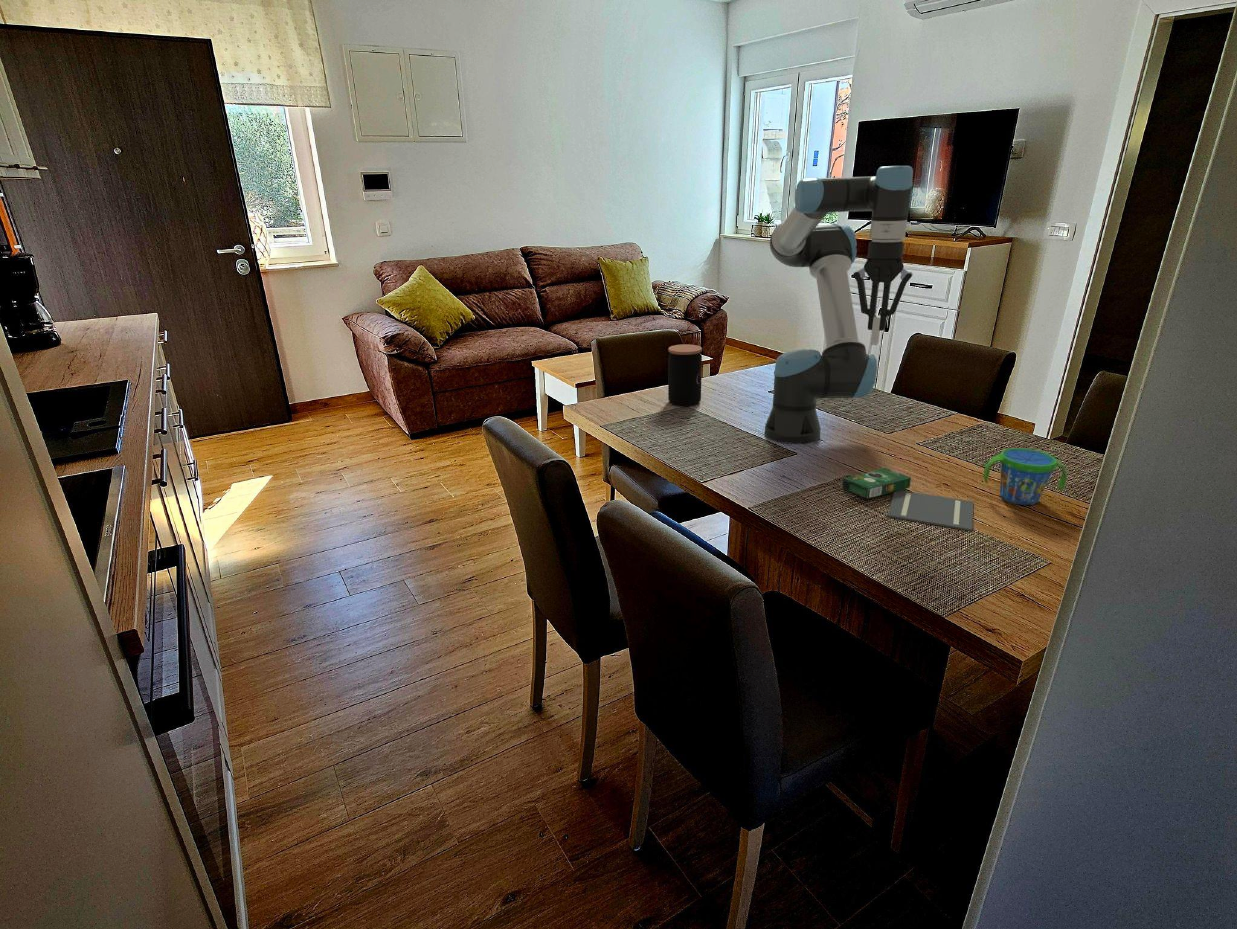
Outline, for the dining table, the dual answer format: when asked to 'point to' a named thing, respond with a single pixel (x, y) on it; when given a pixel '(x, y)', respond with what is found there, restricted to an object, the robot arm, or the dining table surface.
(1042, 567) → the dining table surface
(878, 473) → the coffee box
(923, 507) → the mat
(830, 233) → the robot arm
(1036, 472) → the snack cup
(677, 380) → the coffee jar
